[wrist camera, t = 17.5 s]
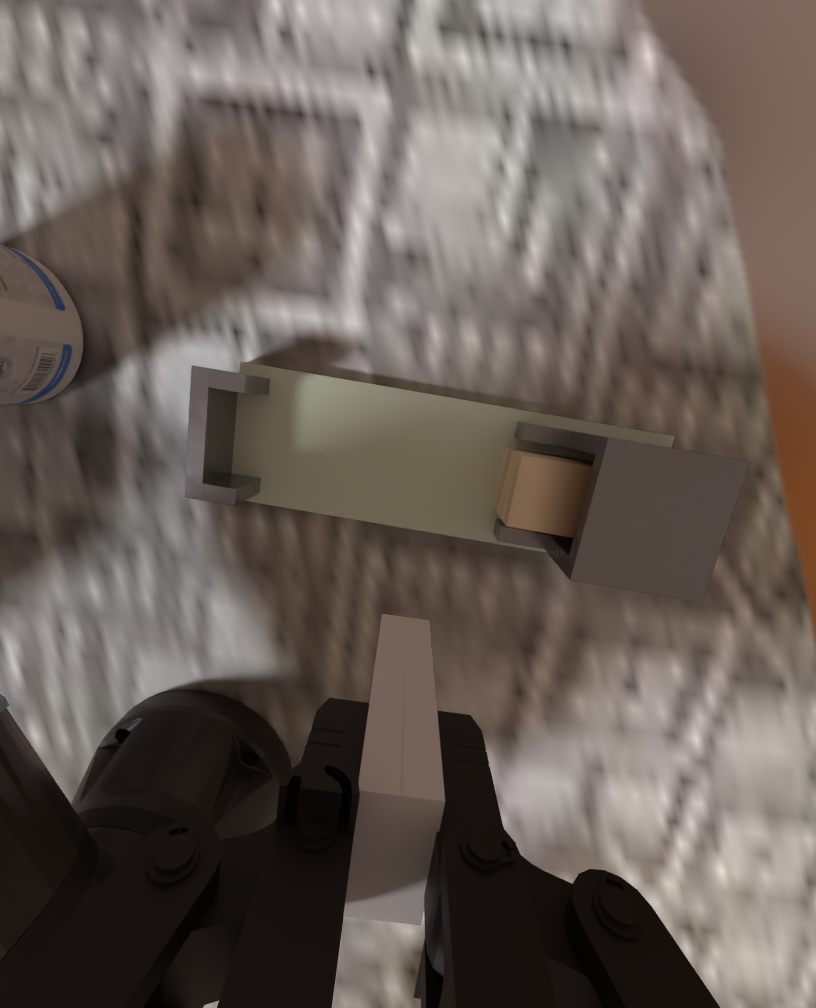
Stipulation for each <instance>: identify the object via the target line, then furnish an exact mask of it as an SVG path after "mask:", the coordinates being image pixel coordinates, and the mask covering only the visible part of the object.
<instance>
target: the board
mask: <svg viewBox="0 0 816 1008" xmlns="http://www.w3.org/2000/svg"><path fill="white" fill-rule="evenodd" d="M239 374H245V375H251V376H257V377H263V378H268V379H270V387H269V395H264V394H248V393H240V392H238V397H237V409H236V422H235V435H234V448H233V461H232V473H234V474H240V475H246V476H251V477H257V478H261V483H260V493H258V494H256V495H254V496H252V497H251V498H249V499H247V500H245V501H248V502H254V503H260V504H266V505H272V506H278V507H284V508H289V509H295V510H301V511H307V512H313V513H319V514H324V515H330V516H336V517H342V518H348V519H354V520H359V521H365V522H371V523H377V524H383V525H389V526H395V527H400V528H406V529H412V530H418V531H424V532H430V533H435V534H441V535H447V536H453V537H459V538H465V539H471V540H476V541H482V542H488V543H494V544H500V545H506V546H511V547H517V548H523V549H529V550H535V551H541V552H546V551H545V549H539V548H533V547H527V546H521V545H516V544H510V543H504V542H498V541H497V539H496V537H495V535H494V533H493V530H494V526H495V521H496V518H497V519H501V518H500V516H499V515H498V514H497V512H496V511H495V509H494V508H493V501H494V497H495V492H496V487H497V483H498V478H499V473H500V469H501V464H502V459H503V455H504V450H505V447H510V448H515V449H521V450H527V451H533V452H539V453H545V454H551V455H557V456H562V457H568V458H574V459H580V460H586V461H592V462H594V459H595V455H592V454H589V453H585V452H582V451H579V450H575V449H572V448H568V447H562V446H556V445H550V444H545V443H539V442H533V441H527V440H521V439H518V438H516V437H514V435H515V431H516V426H517V422H524V423H530V424H535V425H541V426H547V427H553V428H559V429H564V430H570V431H576V432H582V433H588V434H593V435H599V436H605V437H611V438H617V439H623V440H628V441H634V442H640V443H646V444H652V445H657V446H663V447H669V448H672V444H673V441H674V438H675V436H671V435H665V434H659V433H653V432H647V431H642V430H636V429H630V428H624V427H618V426H613V425H607V424H601V423H595V422H589V421H584V420H578V419H572V418H566V417H560V416H555V415H549V414H543V413H537V412H531V411H526V410H520V409H514V408H508V407H502V406H497V405H491V404H485V403H479V402H473V401H468V400H462V399H456V398H450V397H444V396H439V395H433V394H427V393H421V392H415V391H410V390H404V389H398V388H392V387H386V386H381V385H375V384H369V383H363V382H357V381H352V380H346V379H340V378H334V377H328V376H323V375H317V374H311V373H305V372H299V371H294V370H288V369H282V368H276V367H270V366H264V365H259V364H253V363H247V362H241V361H240V371H239Z"/></svg>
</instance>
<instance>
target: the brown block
mask: <svg viewBox="0 0 816 1008" xmlns="http://www.w3.org/2000/svg"><path fill="white" fill-rule="evenodd" d="M592 466H593V462H592V461H586V460H580V459H574V458H568V457H562V456H557V455H551V454H545V453H539V452H533V451H527V450H521V449H515V448H510V447H505V450H504V455H503V459H502V464H501V469H500V473H499V478H498V483H497V487H496V492H495V497H494V501H493V508H494V509H495V511H496V512H497V514H498V515H499V516H500V518H501V519H502V521H503V522H504V524H505V525H506V526H507V527H513V528H519V529H525V530H531V531H537V532H543V533H549V534H555V535H560V536H566V537H572V538H574V534H575V531H576V527H577V523H578V519H579V515H580V512H581V508H582V504H583V500H584V496H585V493H586V489H587V485H588V481H589V478H590V474H591V470H592Z"/></svg>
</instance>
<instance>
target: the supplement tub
mask: <svg viewBox="0 0 816 1008" xmlns="http://www.w3.org/2000/svg"><path fill="white" fill-rule="evenodd" d="M82 353H83V330H82V324H81V321H80V317H79V315H78V312H77V310H76V307H75V305H74V303H73V301H72V299H71V298H70V296H69V294H68V292H67V291H66V289H65V288H64V286H63V285H62V284H61V282H60V281H59V280H58V279H57V278H56V277H55V276H54V274H53V273H52V272H50V271H49V270H48V269H47V268H46V267H45V266H44V265H42V264H41V263H40V262H38V261H37V260H35V259H34V258H32V257H30V256H28V255H27V254H25V253H23V252H20V251H18V250H16V249H13V248H10V247H8V246H5V245H3V244H0V405H10V404H31V403H37V402H41V401H44V400H46V399H49V398H51V397H53V396H55V395H56V394H58V393H59V392H61V391H62V390H63V389H64V388H65V387H66V386H67V385H68V384H69V383H70V382H71V381H72V379H73V378H74V376H75V374H76V372H77V370H78V368H79V365H80V362H81V359H82Z"/></svg>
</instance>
